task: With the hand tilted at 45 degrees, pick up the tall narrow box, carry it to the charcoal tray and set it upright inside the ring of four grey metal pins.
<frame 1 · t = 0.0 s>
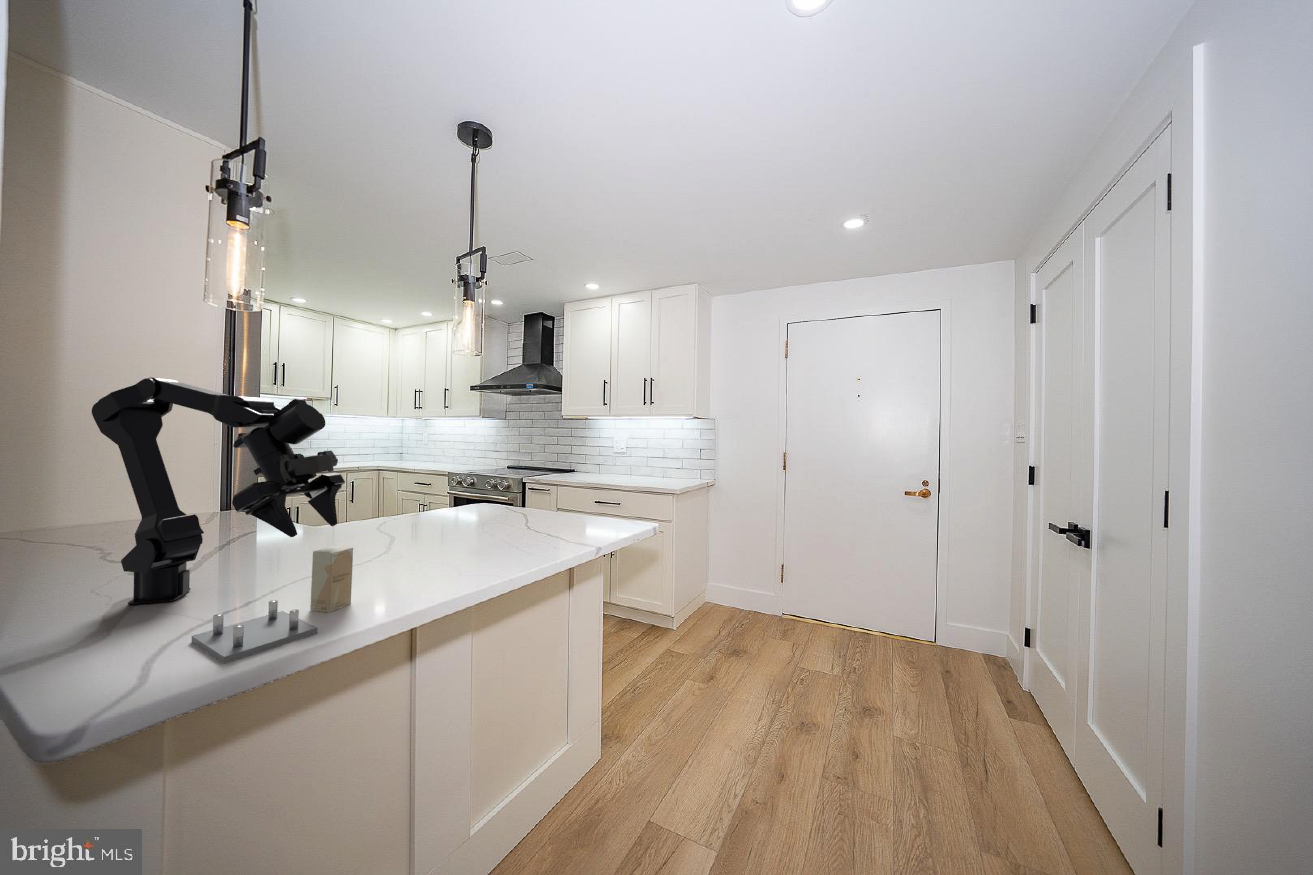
hand: (315, 530, 87), 15 cm above the countertop, tool tilted 35°, fingers open, 9 cm apart
pin tray: (256, 637, 76), on the countertop
box: (331, 607, 89), on the countertop
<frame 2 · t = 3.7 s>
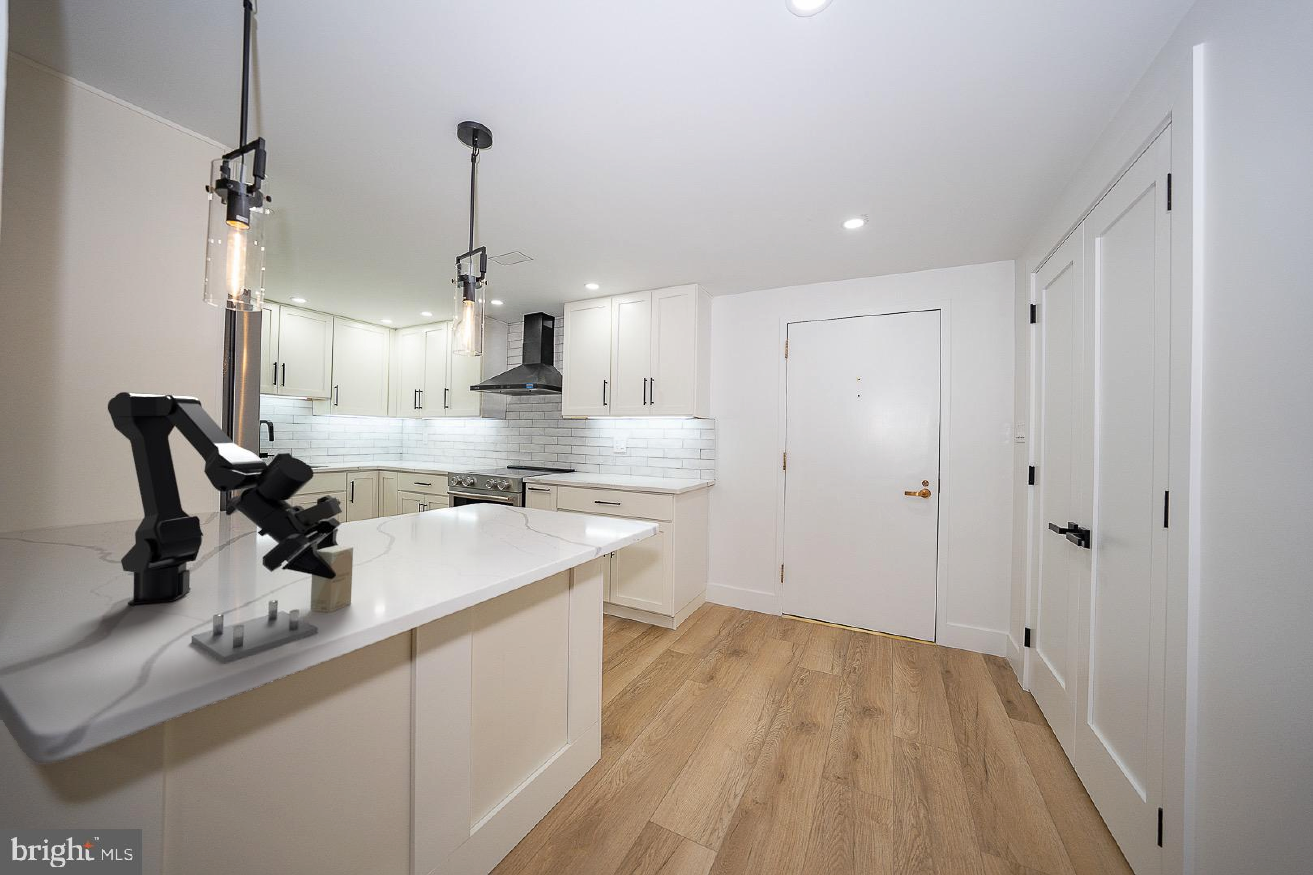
hand: (340, 571, 89), 7 cm above the countertop, tool tilted 45°, fingers closed on box, 6 cm apart
box: (331, 607, 89), on the countertop, touching gripper
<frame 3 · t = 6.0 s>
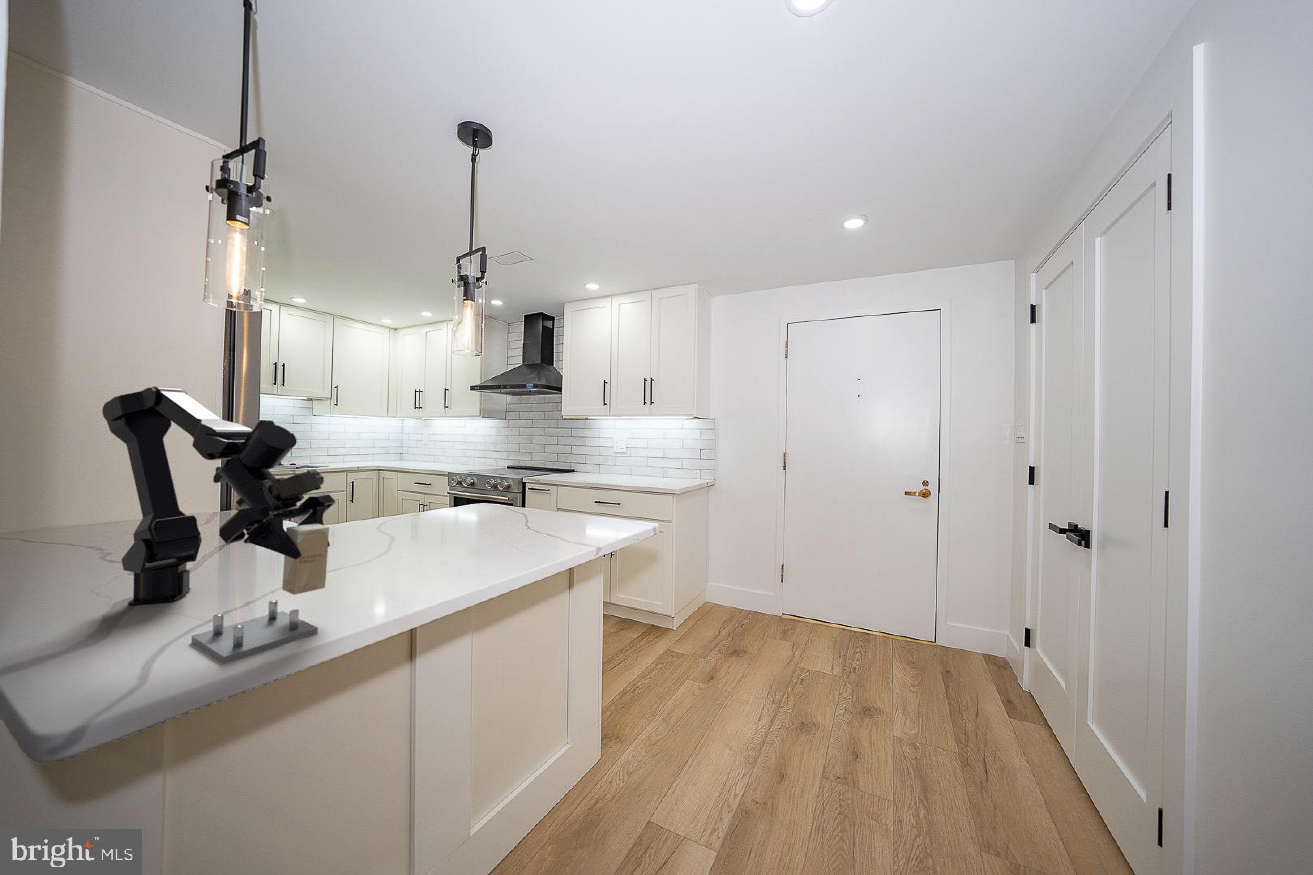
hand: (313, 552, 83), 12 cm above the countertop, tool tilted 45°, fingers closed on box, 6 cm apart
box: (304, 589, 83), point 5 cm above the countertop, touching gripper
when the fingers open (9 cm above the countertop, at t = 8.4 s): box drops 1 cm, resting on pin tray.
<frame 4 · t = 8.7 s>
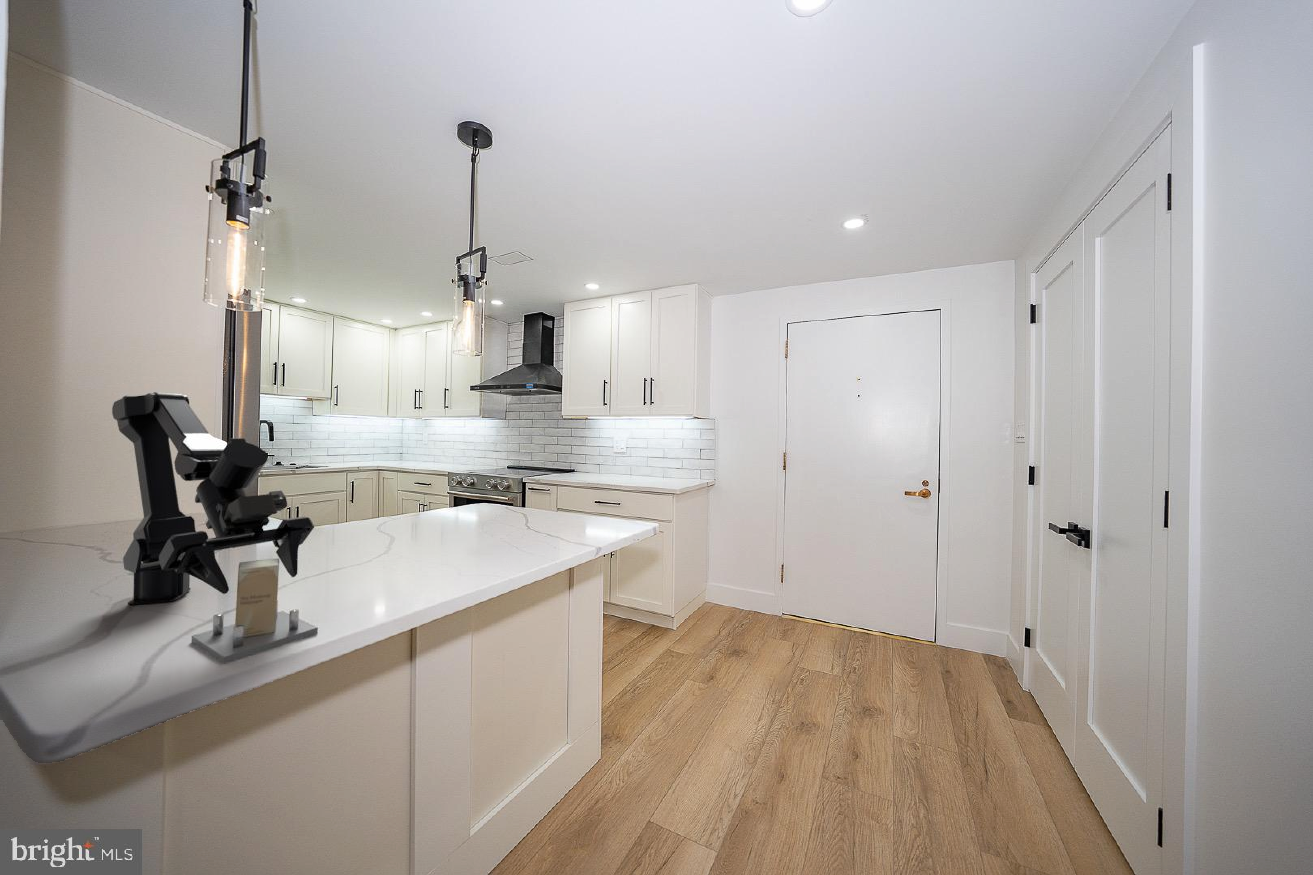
hand: (262, 583, 75), 9 cm above the countertop, tool tilted 45°, fingers open, 9 cm apart
box: (256, 631, 76), point 1 cm above the countertop, touching pin tray
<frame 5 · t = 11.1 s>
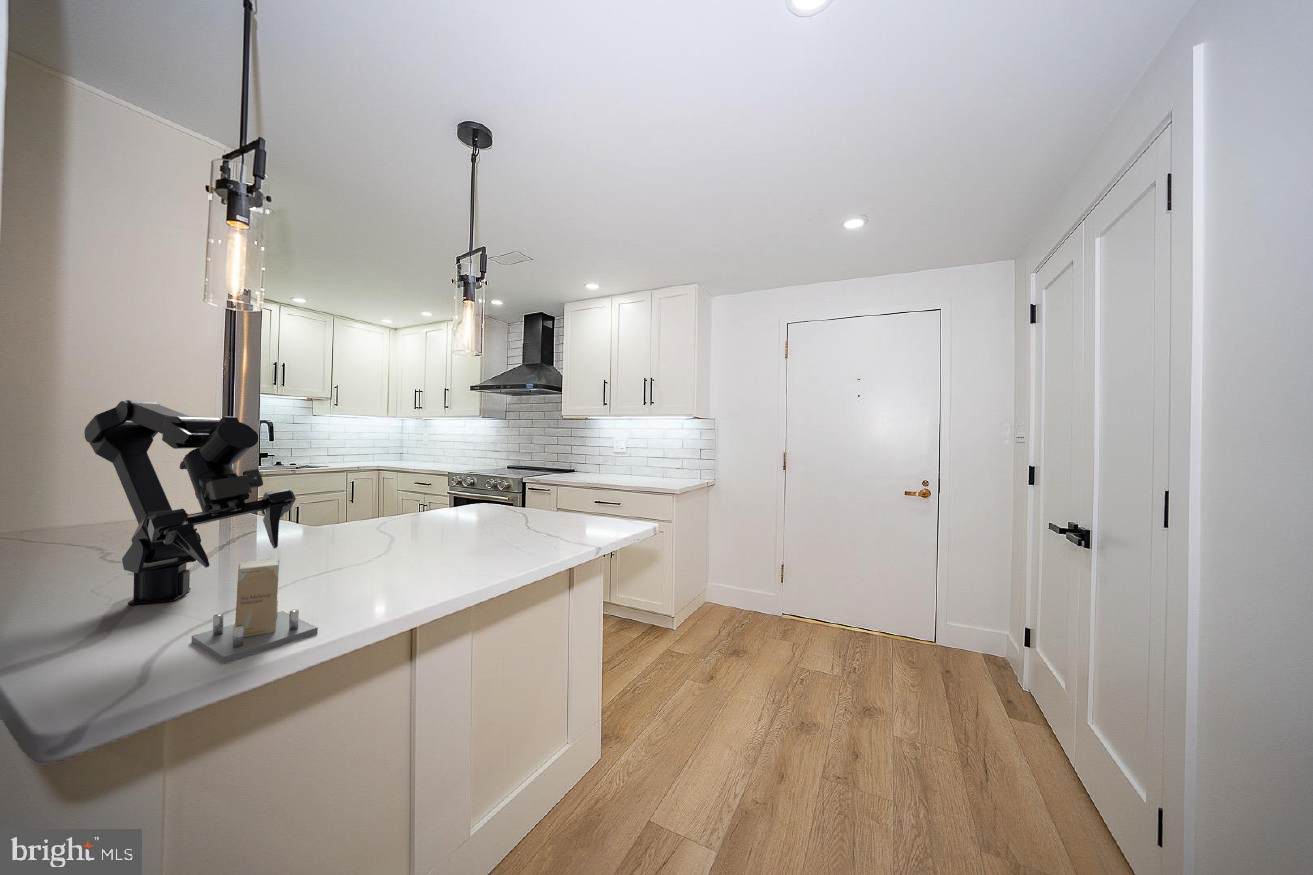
hand: (243, 556, 81), 11 cm above the countertop, tool tilted 35°, fingers open, 9 cm apart
nothing on the countertop moved.
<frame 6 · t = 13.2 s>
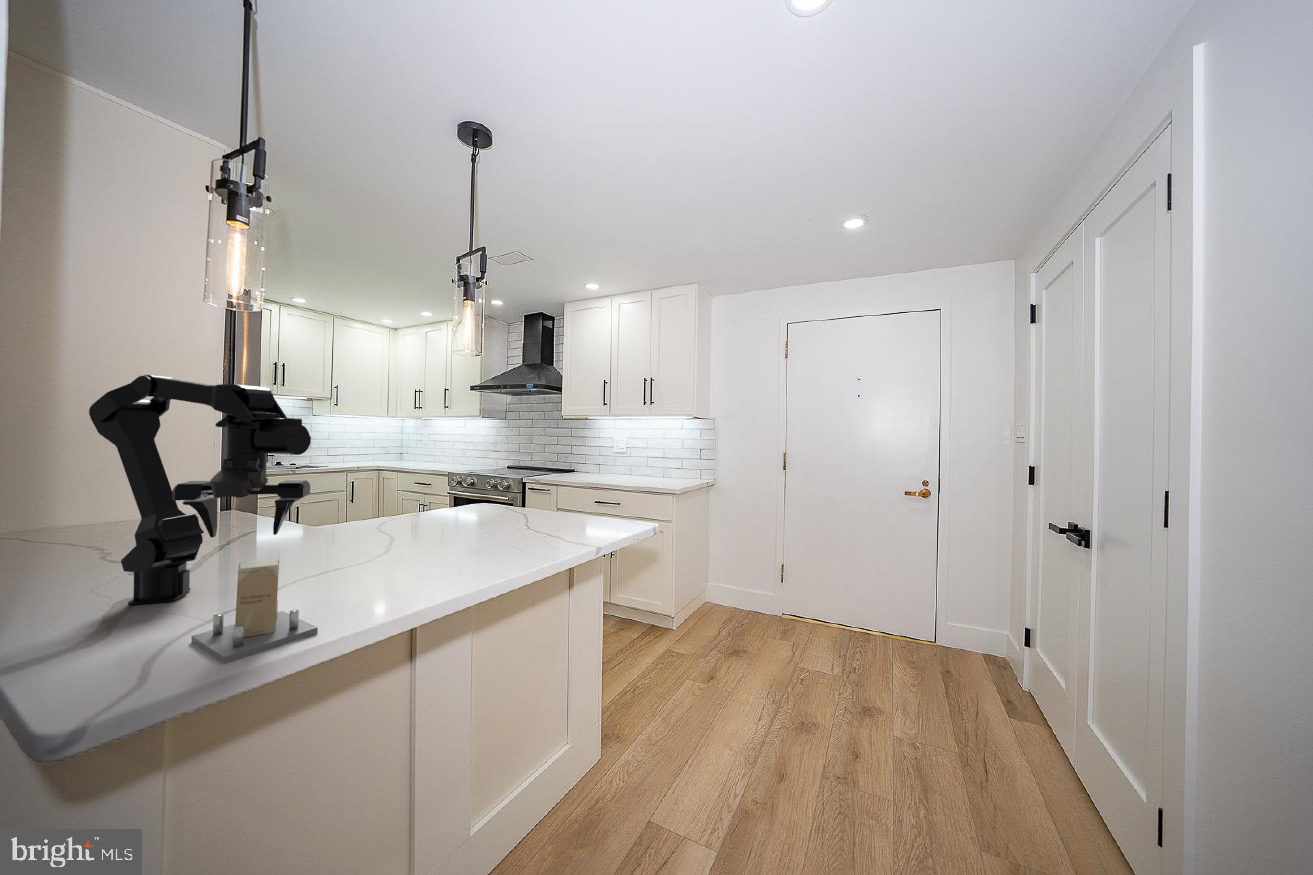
hand: (245, 535, 88), 13 cm above the countertop, tool pointing down, fingers open, 9 cm apart
nothing on the countertop moved.
at the end: box 0.3 cm off-centre on the pin tray, point 0.8 cm above the pin tray's base; box tilted 0°; the gripper is holding nothing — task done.
